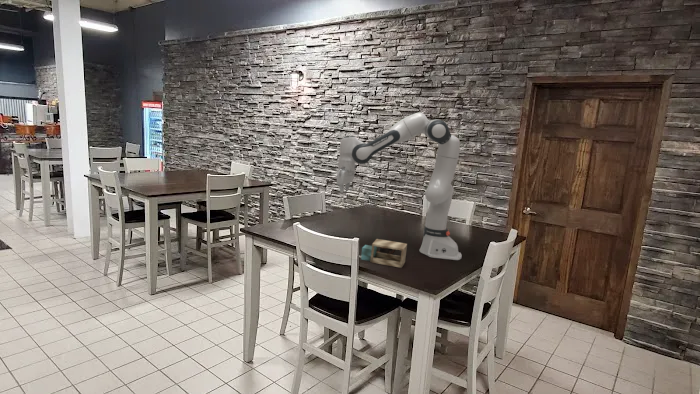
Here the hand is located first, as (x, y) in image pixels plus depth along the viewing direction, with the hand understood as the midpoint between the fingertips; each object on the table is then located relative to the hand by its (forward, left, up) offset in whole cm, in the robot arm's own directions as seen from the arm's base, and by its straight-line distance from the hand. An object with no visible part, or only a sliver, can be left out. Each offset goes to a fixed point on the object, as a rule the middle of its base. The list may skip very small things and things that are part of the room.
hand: (344, 191), depth 215 cm
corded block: (-14, +18, -29) cm, 37 cm away
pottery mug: (-27, +7, -29) cm, 41 cm away
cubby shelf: (-31, +18, -29) cm, 46 cm away
